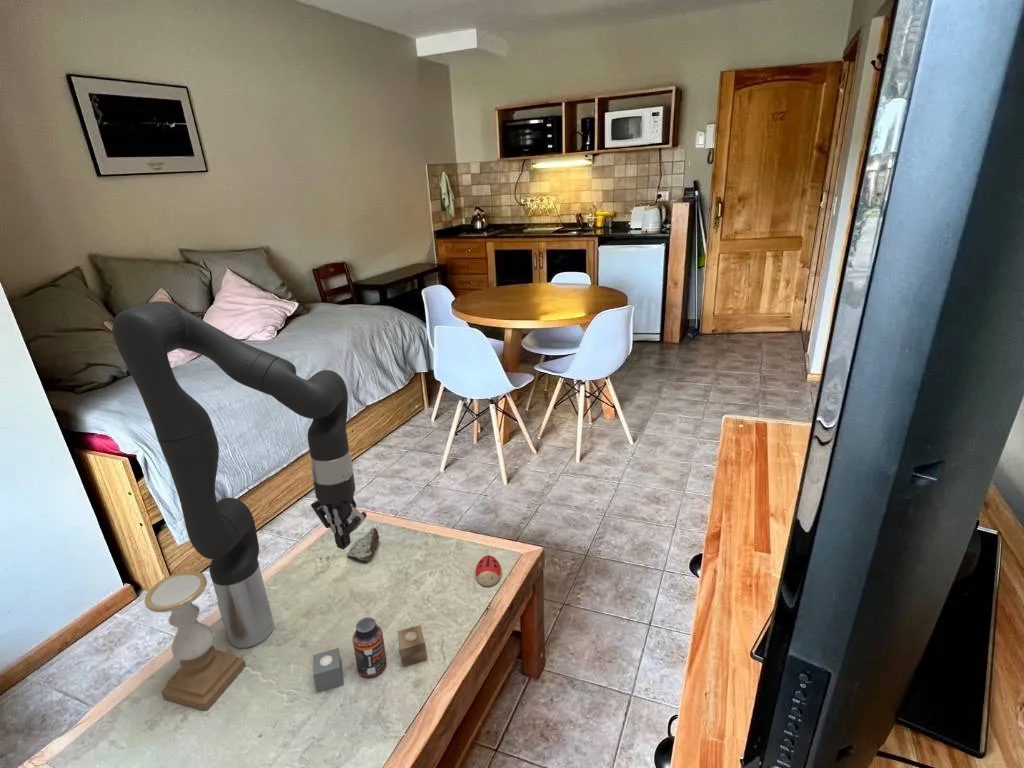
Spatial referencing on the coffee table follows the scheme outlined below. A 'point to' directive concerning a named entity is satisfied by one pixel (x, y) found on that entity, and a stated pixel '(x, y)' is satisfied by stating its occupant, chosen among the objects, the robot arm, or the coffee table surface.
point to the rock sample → (364, 546)
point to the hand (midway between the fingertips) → (343, 546)
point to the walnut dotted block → (412, 645)
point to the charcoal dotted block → (327, 670)
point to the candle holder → (192, 644)
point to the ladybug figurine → (488, 571)
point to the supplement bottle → (369, 647)
